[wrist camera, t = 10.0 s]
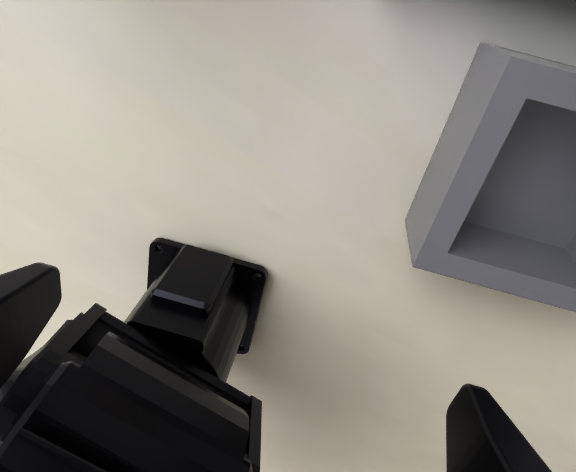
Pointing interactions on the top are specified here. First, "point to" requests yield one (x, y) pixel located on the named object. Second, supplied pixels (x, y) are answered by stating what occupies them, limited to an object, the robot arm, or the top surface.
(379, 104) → the top surface
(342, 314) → the top surface
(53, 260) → the top surface
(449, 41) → the top surface
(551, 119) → the socket
